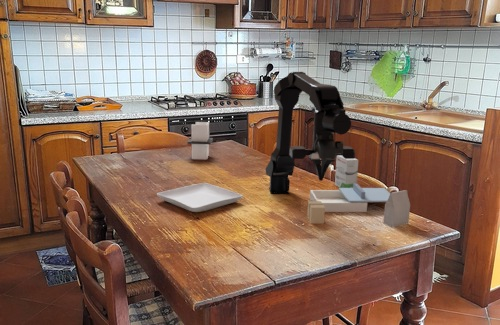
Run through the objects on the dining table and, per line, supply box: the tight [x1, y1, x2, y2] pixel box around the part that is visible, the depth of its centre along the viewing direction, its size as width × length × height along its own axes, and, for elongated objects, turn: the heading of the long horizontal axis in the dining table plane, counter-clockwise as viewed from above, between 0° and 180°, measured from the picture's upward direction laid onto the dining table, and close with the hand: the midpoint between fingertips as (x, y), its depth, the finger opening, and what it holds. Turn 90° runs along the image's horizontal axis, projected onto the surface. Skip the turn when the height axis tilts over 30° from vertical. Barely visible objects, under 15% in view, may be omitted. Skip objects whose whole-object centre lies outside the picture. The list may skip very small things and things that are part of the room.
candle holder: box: [186, 121, 214, 160], centre depth 222 cm, size 25×24×16 cm
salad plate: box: [156, 182, 244, 213], centre depth 160 cm, size 21×21×3 cm
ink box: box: [334, 155, 359, 189], centre depth 178 cm, size 9×5×12 cm, turn 18°
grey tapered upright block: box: [382, 189, 411, 228], centre depth 143 cm, size 4×7×10 cm, turn 121°
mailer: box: [309, 189, 368, 213], centre depth 160 cm, size 16×14×3 cm
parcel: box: [306, 200, 326, 224], centre depth 145 cm, size 4×6×5 cm
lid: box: [338, 183, 391, 203], centre depth 159 cm, size 16×14×3 cm
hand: (320, 180), depth 144 cm, fingers closed
